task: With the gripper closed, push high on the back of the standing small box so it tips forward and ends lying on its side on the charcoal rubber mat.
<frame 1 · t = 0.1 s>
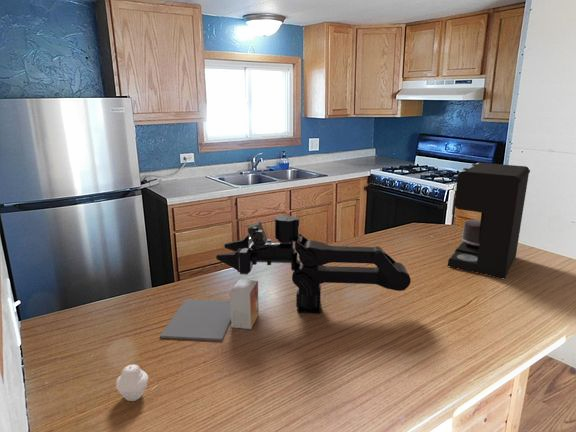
hand: (220, 251, 117), 17 cm above the counter, tool horizontal, fingers open, 9 cm apart
mat: (202, 319, 113), on the counter
coffee maker: (483, 260, 154), on the counter
small box: (245, 321, 112), on the counter
muffin: (134, 396, 84), on the counter
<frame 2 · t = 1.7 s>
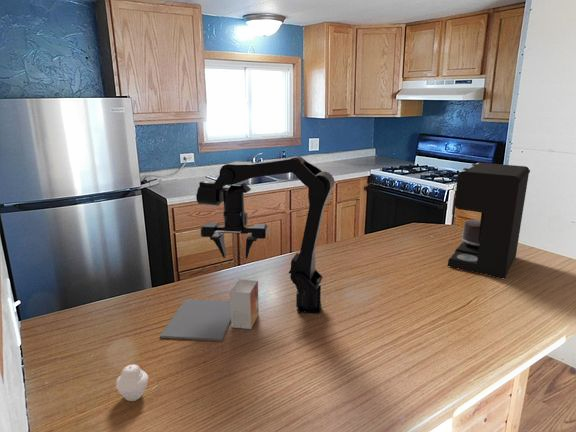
hand: (235, 258, 121), 13 cm above the counter, tool pointing down, fingers open, 6 cm apart
nothing on the counter moved.
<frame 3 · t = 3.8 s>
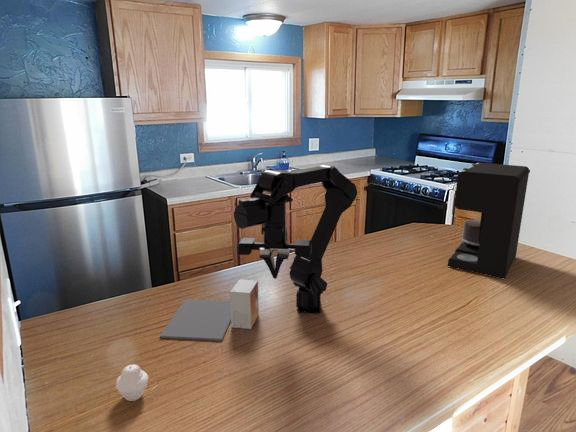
hand: (275, 277, 108), 13 cm above the counter, tool pointing down, fingers closed
nothing on the counter moved.
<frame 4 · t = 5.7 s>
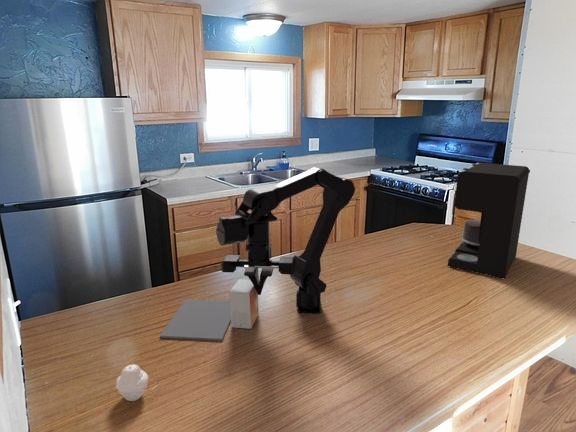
hand: (259, 294, 109), 8 cm above the counter, tool pointing down, fingers closed
small box: (245, 321, 112), on the counter, touching gripper
everything else where it was.
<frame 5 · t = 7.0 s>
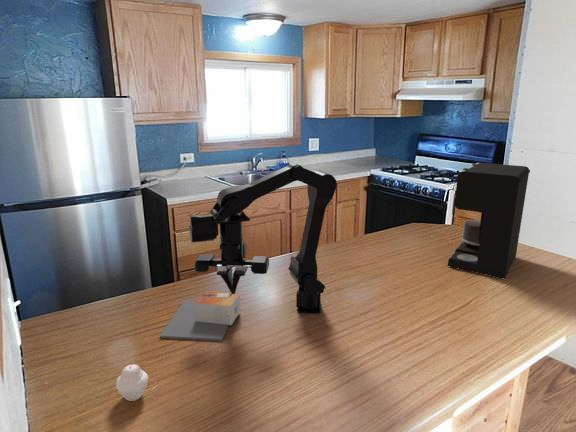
hand: (233, 293, 110), 8 cm above the counter, tool pointing down, fingers closed
small box: (236, 309, 112), point 3 cm above the counter, touching mat
everything else where it was.
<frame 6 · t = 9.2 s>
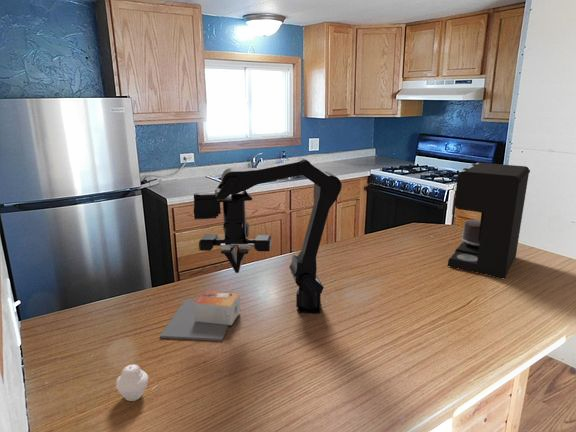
hand: (237, 272, 112), 13 cm above the counter, tool pointing down, fingers closed
nothing on the counter moved.
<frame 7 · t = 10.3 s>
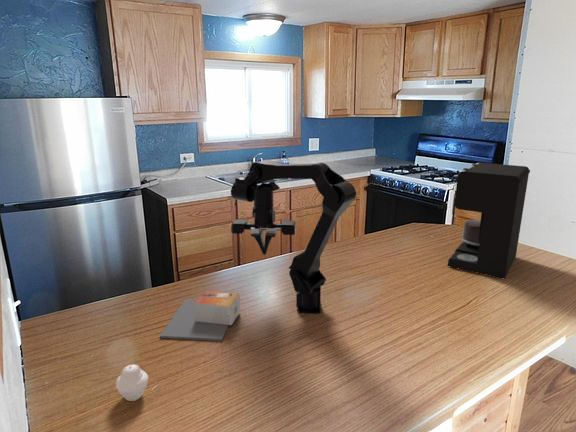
hand: (264, 254, 125), 13 cm above the counter, tool pointing down, fingers closed
nothing on the counter moved.
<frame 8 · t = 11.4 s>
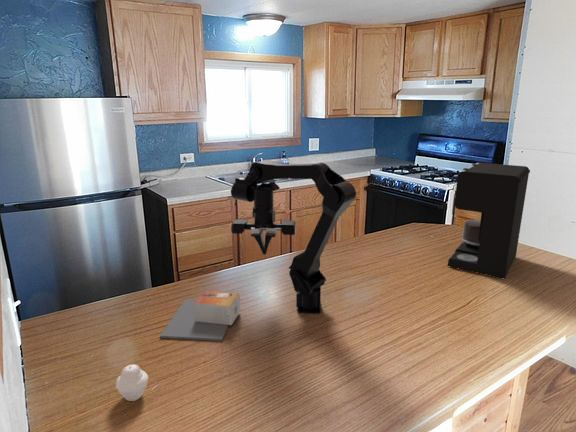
hand: (264, 254, 125), 13 cm above the counter, tool pointing down, fingers closed
nothing on the counter moved.
at the end: small box tilted 90°; small box touching mat; small box inside the target area (7.2 cm from its centre), point 3.3 cm above the counter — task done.
